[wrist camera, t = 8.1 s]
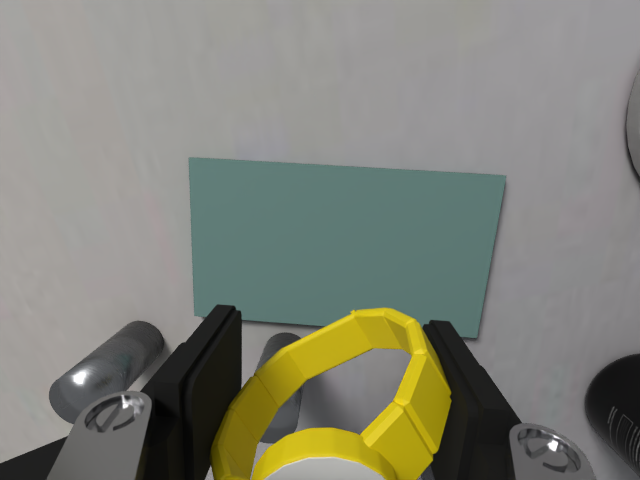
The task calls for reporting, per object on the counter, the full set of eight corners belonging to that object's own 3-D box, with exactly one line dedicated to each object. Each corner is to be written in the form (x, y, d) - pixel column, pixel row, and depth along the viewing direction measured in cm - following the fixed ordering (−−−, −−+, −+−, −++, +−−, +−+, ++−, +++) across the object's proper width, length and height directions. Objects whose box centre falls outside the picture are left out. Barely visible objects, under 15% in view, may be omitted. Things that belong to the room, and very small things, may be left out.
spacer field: (478, 347, 22) (527, 415, 16) (442, 546, 26) (471, 657, 20) (104, 318, 23) (26, 371, 18) (125, 513, 27) (66, 609, 22)
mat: (501, 175, 20) (506, 175, 19) (473, 333, 22) (476, 338, 21) (193, 157, 20) (188, 157, 20) (198, 311, 23) (194, 316, 22)
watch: (383, 267, 11) (460, 375, 5) (422, 336, 12) (531, 505, 6) (227, 354, 12) (137, 539, 6) (270, 416, 12) (228, 646, 6)
